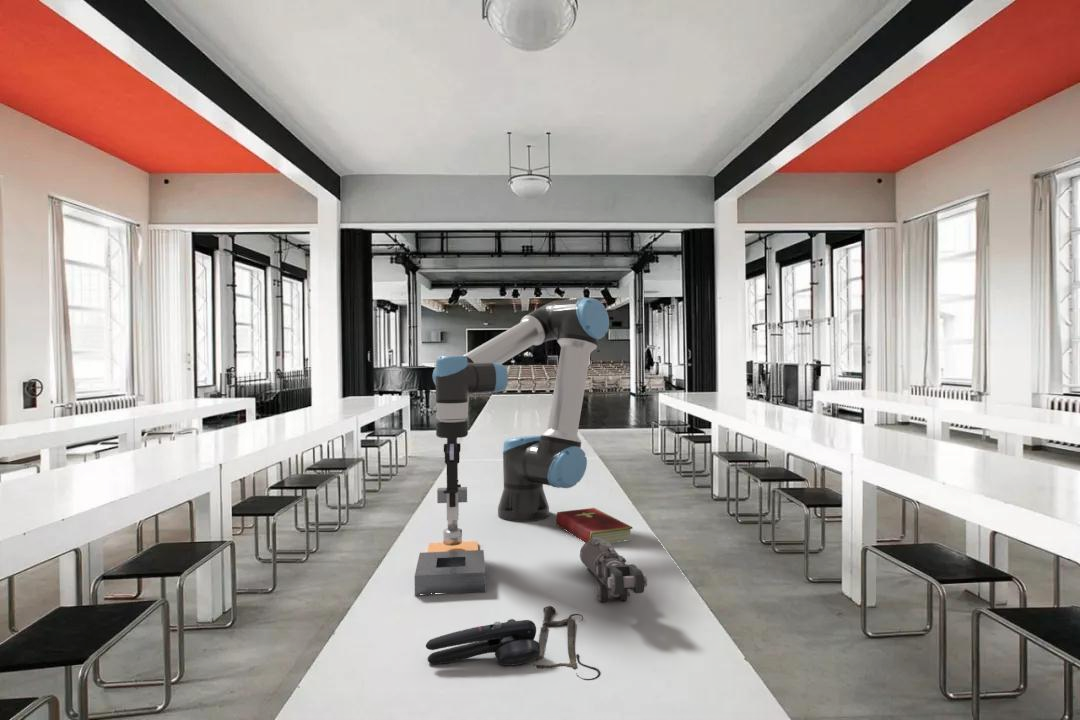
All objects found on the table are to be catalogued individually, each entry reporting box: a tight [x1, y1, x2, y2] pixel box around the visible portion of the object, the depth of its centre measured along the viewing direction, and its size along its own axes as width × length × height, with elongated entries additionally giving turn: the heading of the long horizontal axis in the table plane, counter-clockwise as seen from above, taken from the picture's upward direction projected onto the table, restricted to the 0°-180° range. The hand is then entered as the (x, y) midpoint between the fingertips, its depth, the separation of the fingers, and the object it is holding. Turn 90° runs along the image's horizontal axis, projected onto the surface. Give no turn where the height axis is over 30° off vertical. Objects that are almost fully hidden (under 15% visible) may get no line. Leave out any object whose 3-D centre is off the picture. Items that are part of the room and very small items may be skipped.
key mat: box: [426, 540, 479, 552], centre depth 148 cm, size 12×12×1 cm
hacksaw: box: [533, 605, 601, 681], centre depth 103 cm, size 24×10×2 cm, turn 176°
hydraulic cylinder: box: [579, 538, 648, 602], centre depth 124 cm, size 7×37×10 cm, turn 7°
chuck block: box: [414, 549, 487, 596], centre depth 130 cm, size 14×14×4 cm
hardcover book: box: [555, 507, 633, 544], centre depth 164 cm, size 12×21×4 cm, turn 22°
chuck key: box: [436, 486, 468, 546], centre depth 147 cm, size 7×4×13 cm, turn 97°
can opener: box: [425, 618, 540, 666], centre depth 97 cm, size 18×7×6 cm, turn 98°
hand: (452, 517), depth 147 cm, fingers closed on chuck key, 3 cm apart
